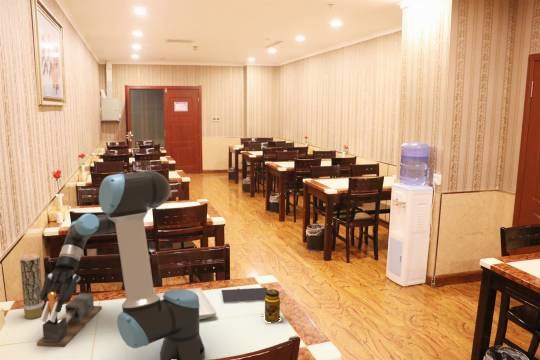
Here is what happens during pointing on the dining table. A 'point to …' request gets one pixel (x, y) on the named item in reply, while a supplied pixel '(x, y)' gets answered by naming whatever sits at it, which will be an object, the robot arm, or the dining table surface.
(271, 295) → the condiment
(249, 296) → the notebook
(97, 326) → the dining table surface
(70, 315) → the wooden handle lever
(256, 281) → the dining table surface
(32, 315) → the grey patterned cylinder
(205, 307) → the square plate
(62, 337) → the stand
